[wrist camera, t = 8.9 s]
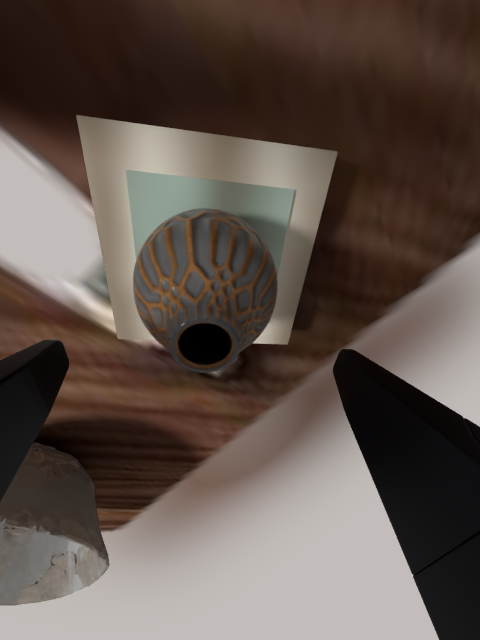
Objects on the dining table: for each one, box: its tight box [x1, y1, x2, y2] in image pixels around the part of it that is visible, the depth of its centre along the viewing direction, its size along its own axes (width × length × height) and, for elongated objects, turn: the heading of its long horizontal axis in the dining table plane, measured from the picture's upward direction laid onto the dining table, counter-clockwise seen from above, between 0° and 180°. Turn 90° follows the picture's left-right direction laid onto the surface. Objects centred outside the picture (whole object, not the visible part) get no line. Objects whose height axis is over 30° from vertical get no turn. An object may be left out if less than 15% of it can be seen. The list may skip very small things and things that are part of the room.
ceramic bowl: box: [0, 443, 109, 605], centre depth 26 cm, size 22×23×10 cm
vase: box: [133, 208, 277, 372], centre depth 12 cm, size 7×7×9 cm
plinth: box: [76, 115, 338, 344], centre depth 17 cm, size 13×13×3 cm
